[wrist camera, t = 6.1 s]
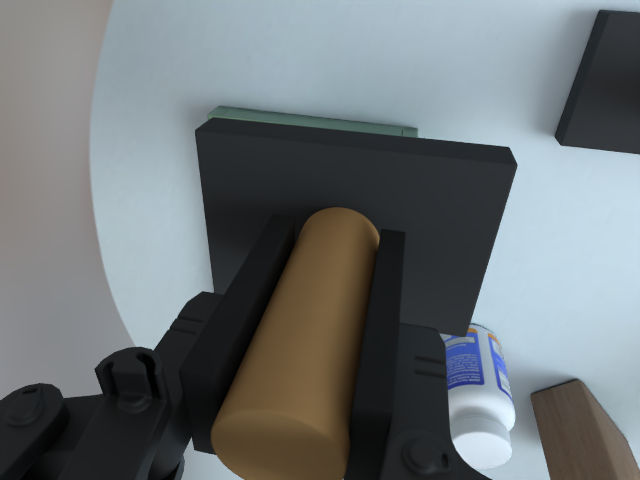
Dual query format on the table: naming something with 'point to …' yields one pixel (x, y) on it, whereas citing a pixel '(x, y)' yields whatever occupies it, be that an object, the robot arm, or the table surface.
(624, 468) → the wooden block
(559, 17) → the table surface
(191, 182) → the table surface
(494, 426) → the pill bottle
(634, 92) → the black block with peg
